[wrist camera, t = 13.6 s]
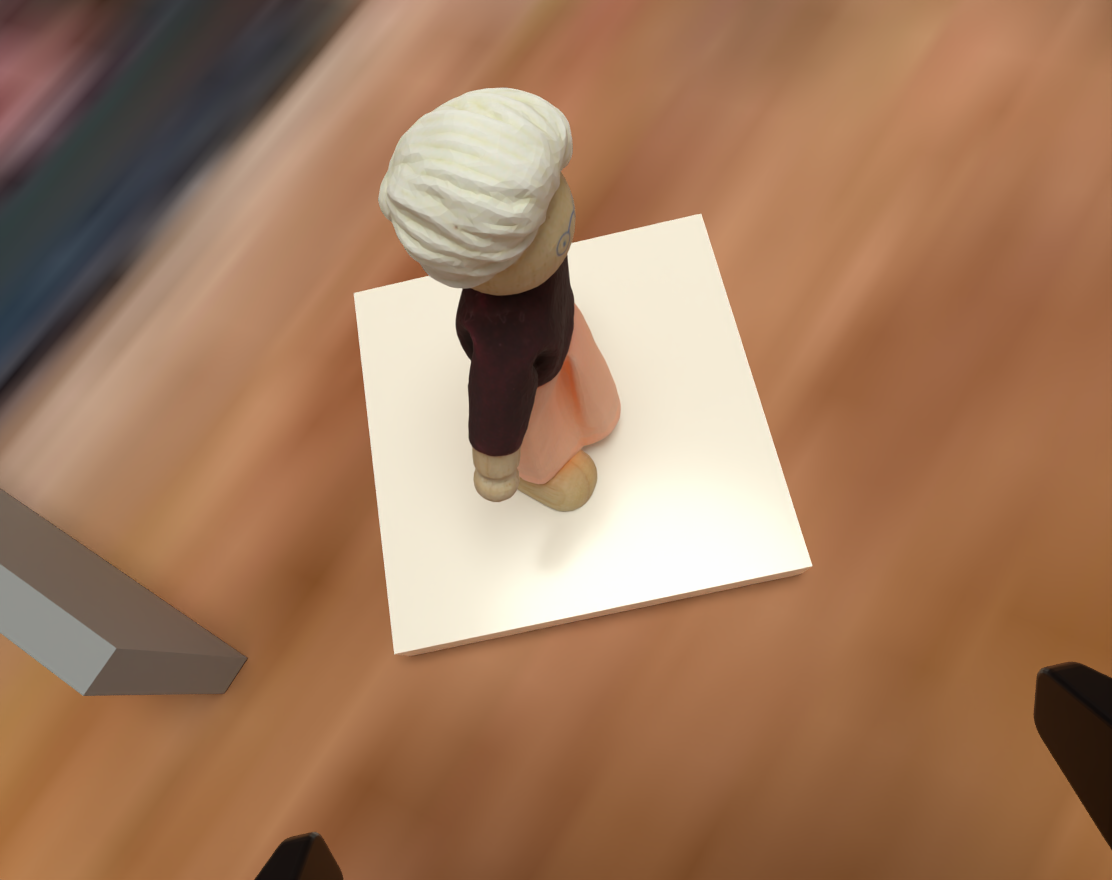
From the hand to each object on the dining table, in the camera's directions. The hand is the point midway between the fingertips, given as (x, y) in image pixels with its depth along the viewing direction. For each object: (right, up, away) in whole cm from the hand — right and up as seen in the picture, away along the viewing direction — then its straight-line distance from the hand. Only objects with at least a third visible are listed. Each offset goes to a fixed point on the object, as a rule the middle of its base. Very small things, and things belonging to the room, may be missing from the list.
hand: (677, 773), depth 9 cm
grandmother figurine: (-1, +5, +14) cm, 14 cm away
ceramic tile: (-1, +4, +15) cm, 16 cm away
